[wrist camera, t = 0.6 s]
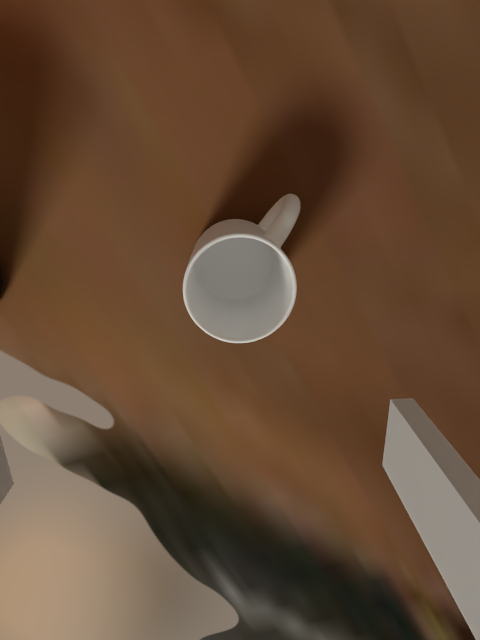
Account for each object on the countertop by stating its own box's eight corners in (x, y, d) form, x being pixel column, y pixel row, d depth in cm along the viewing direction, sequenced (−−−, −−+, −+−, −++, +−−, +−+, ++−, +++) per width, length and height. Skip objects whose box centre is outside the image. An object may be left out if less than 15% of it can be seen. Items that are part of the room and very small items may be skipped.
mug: (251, 164, 36) (262, 160, 26) (321, 221, 38) (355, 237, 28) (175, 270, 39) (160, 302, 29) (243, 318, 41) (250, 363, 31)
